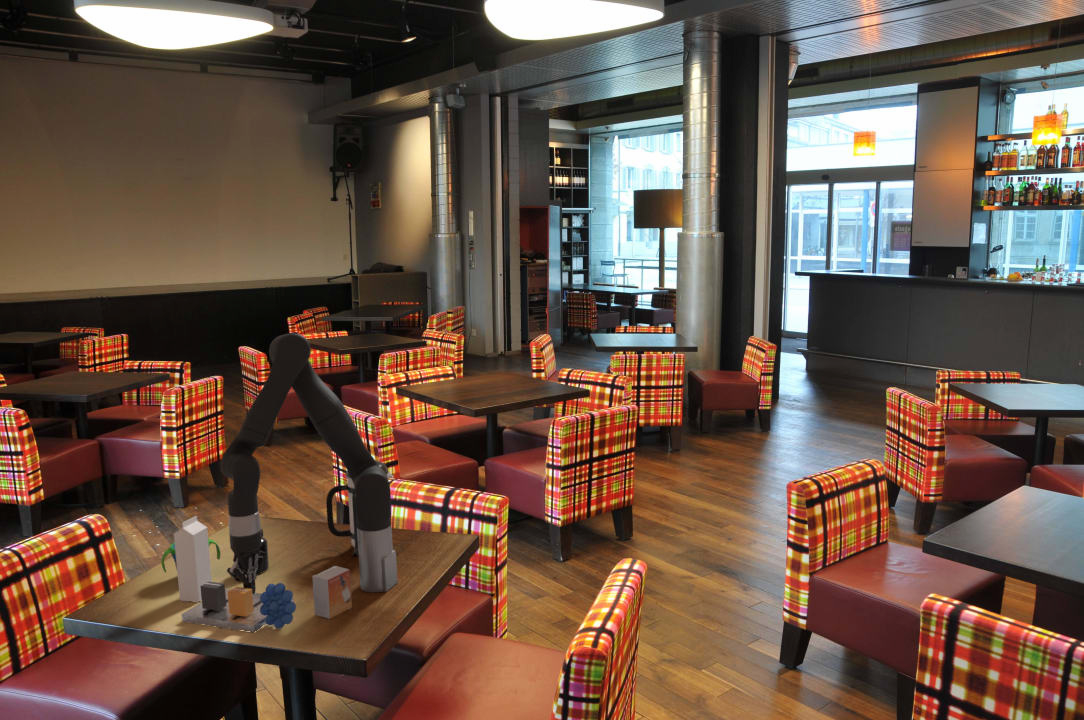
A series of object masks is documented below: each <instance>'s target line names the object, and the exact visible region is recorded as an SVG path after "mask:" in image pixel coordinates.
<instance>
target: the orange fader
mask: <svg viewBox="0 0 1084 720" xmlns="http://www.w3.org/2000/svg"><path fill="white" fill-rule="evenodd" d="M228 603H229V614H232V615H238V616H245V617H246V616H248V615H249V614H251V613H252V612H254V607H253V595H252V589H249V588H243V586H242V587H240V586H234V587H232V588H231V590H229V591H228Z"/></svg>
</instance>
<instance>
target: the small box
mask: <svg viewBox="0 0 1084 720" xmlns="http://www.w3.org/2000/svg"><path fill="white" fill-rule="evenodd" d="M311 577H312V589H313V591H312V593H313V594H312V595H313V605H314V606H313V607H314V608H313V609H314V615H315V616H319V617H322V618H326V619H329V620H330V619H331V620H332V619H333V618H334V617H336V616H338V615H340V614H342V613H344V612H345V611H347V610H350V609H352V607H353V605H352V587H351V584H352V583H351V570H350V569H349V568H346V567H345V568H344V567H341V566H337V565H332V567H329V568H328V569H326V570H323V571H321V572H320V573H317V574H314V575H312V576H311Z"/></svg>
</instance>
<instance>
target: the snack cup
mask: <svg viewBox="0 0 1084 720" xmlns="http://www.w3.org/2000/svg"><path fill="white" fill-rule="evenodd" d="M208 543H209V547H210V545H212V544H214V545H215V550H216V559H217V560H218V561H219V560H220V559H221V549H220V546H219V545H218V543H217V542H216V541H215V540H213V539H210V538H208ZM169 554H171V556H172V559H173V561H174V564H175V569H176V570H177V563H176V552H175V541H174V542H173V543H171V544H170V546H169V547H168V549H166V550H165V551H164V552H163V554H162V557H161V567H162V569H163V572H164V573H167V570H166V566H165V559H166V557H167V556H168V555H169Z"/></svg>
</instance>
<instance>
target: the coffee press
mask: <svg viewBox="0 0 1084 720" xmlns="http://www.w3.org/2000/svg"><path fill="white" fill-rule="evenodd" d="M375 461H376V462H377V463H378V464H379V466H380V467H381V468H382V469H383V470H384V472H385V473H386V475H387V477H388V480H389V479H394V475H393V474H392V472H390V471H389V468H388V467H387V465H386V464H385V463H384V462H382V461H380V460H376V459H375ZM345 477H346V481H347V483H346V484H340V485H339V484H338V485H336V486H333V487H332V488H330V490H329V491H328V493H327V496H326V504H325V505H326V521H327V527H328V531H329V532H330V533H331V534H332V535H334V536H335V537H340V538H341V537H342V538H343V537H345V538H346V537H350V543H351V546H352V547H353V551H352V556H354V557H359V554H358V537H357V521H356V499H355V488H354V484H353V481H352V479H351V477H350V475H349V473H348V471H347V470H346V471H345ZM342 491H344V492H345V491H346V492H347V496H348V510H349V512H348V514H349V529H346V530H339V529H337V528H336V527H335V523H334V511H333V508H334V507H333V498H334V496H335V494H336V493H339V492H342Z"/></svg>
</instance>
